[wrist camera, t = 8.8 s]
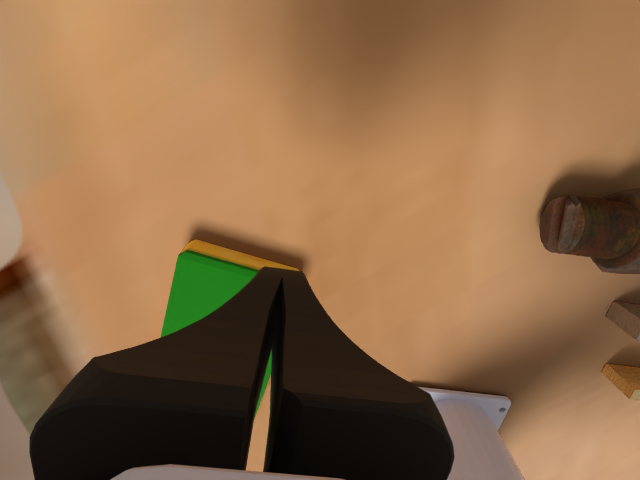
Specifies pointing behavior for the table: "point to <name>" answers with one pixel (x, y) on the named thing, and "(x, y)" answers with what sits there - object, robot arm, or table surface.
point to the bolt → (596, 229)
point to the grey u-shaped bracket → (626, 317)
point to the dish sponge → (210, 285)
